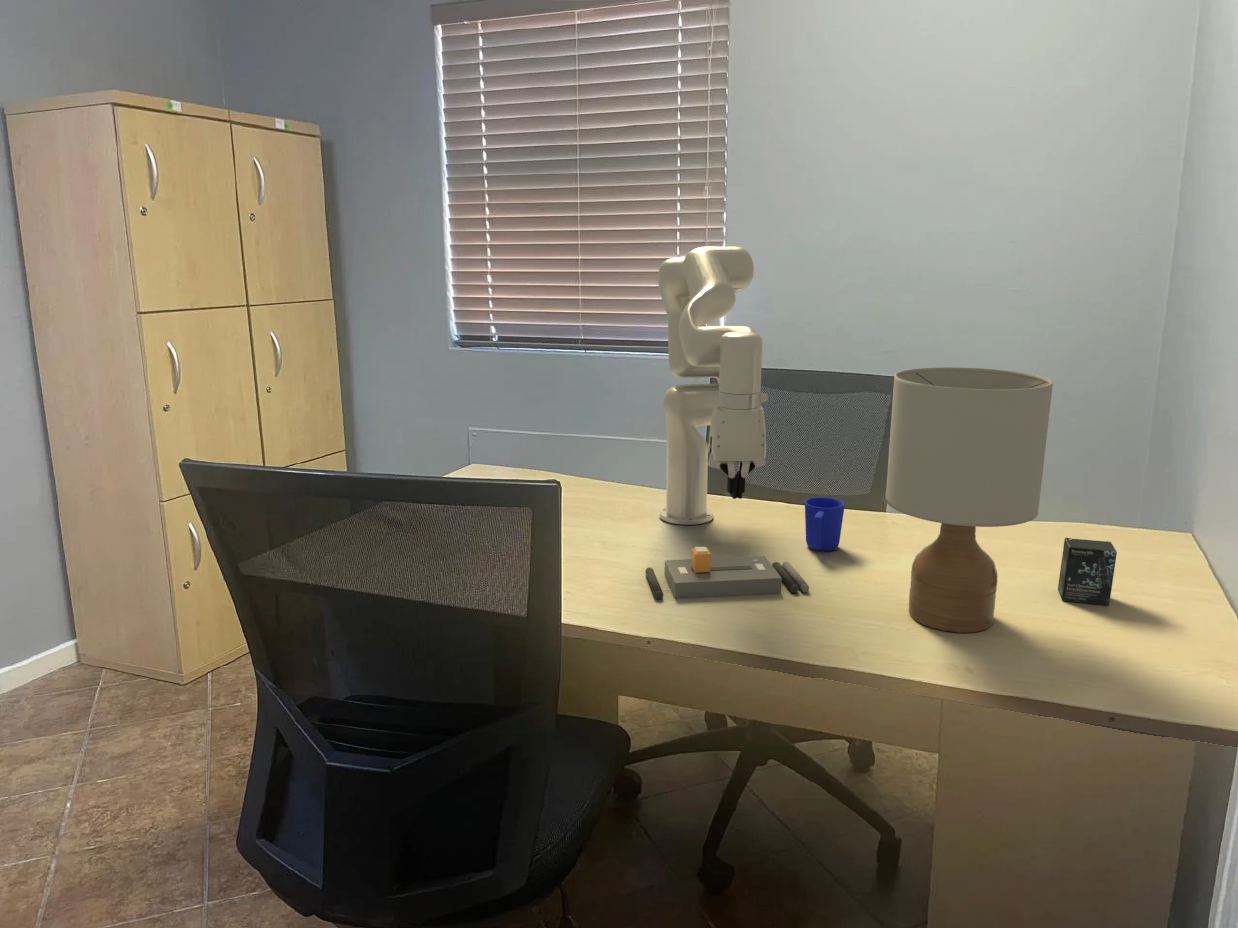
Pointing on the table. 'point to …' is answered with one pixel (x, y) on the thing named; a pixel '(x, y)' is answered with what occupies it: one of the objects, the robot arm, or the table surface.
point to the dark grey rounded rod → (654, 583)
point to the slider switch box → (723, 577)
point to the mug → (823, 522)
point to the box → (1087, 571)
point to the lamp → (964, 478)
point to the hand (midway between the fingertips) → (735, 496)
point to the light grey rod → (795, 576)
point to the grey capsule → (786, 577)
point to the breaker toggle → (701, 559)
